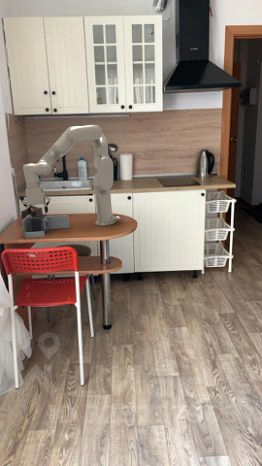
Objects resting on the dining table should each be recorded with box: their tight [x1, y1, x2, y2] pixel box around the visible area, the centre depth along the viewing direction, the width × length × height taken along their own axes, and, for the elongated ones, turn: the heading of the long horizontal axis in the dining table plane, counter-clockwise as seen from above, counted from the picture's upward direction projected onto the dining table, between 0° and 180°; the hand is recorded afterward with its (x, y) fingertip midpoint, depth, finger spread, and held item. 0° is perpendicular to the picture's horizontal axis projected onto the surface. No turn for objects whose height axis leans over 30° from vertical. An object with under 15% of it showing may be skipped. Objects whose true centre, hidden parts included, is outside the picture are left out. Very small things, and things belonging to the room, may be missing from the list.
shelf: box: [20, 214, 71, 239], centre depth 227 cm, size 24×17×10 cm
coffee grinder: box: [18, 195, 44, 221], centre depth 252 cm, size 16×11×18 cm
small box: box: [30, 214, 50, 235], centre depth 226 cm, size 11×6×10 cm, turn 170°
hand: (38, 213), depth 225 cm, fingers open, 9 cm apart
